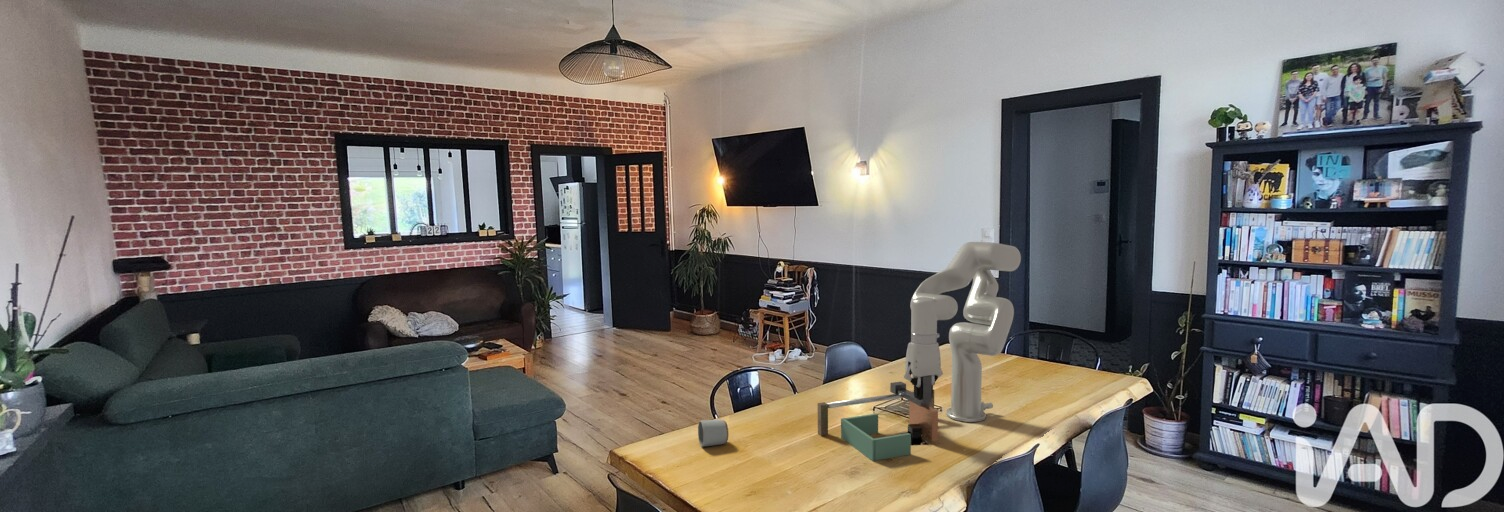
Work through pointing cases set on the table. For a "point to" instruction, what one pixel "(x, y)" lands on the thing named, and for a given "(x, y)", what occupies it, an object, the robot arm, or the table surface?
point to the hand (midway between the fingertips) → (923, 397)
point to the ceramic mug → (712, 432)
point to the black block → (916, 435)
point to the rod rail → (824, 406)
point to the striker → (920, 407)
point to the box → (874, 449)
